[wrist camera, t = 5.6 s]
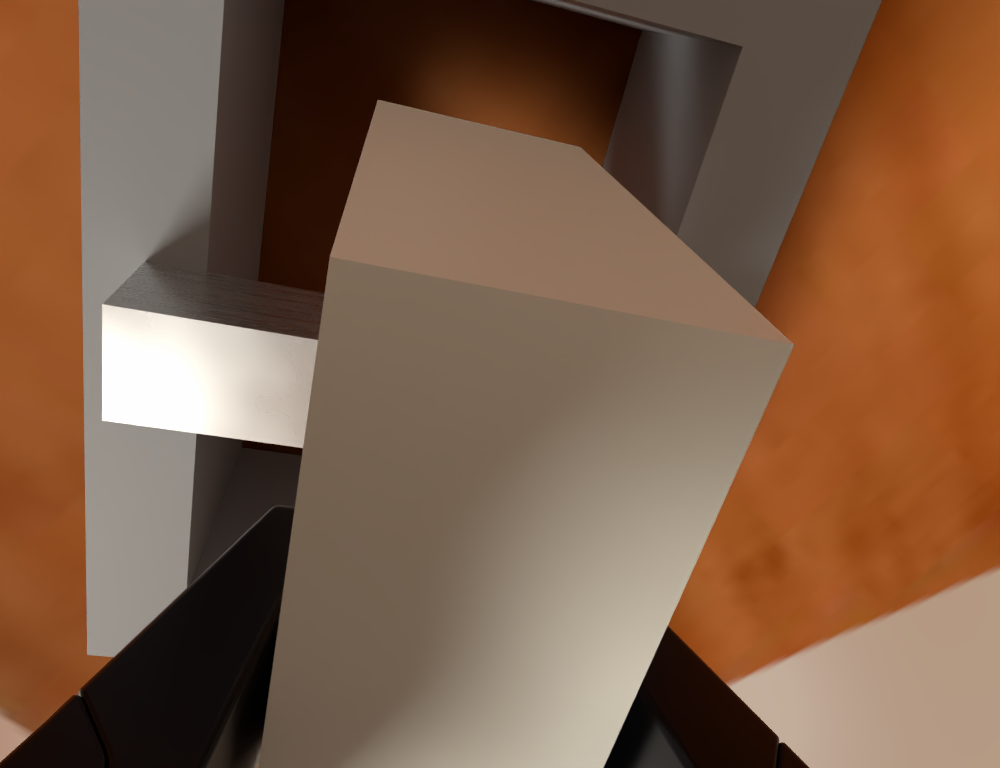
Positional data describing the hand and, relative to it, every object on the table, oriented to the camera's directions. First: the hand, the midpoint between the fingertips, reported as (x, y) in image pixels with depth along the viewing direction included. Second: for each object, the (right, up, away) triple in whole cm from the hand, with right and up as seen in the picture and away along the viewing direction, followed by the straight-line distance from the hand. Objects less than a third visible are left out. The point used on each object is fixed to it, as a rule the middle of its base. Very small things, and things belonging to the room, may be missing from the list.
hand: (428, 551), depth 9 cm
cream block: (0, +2, +4) cm, 4 cm away
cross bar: (-1, +2, +5) cm, 5 cm away
